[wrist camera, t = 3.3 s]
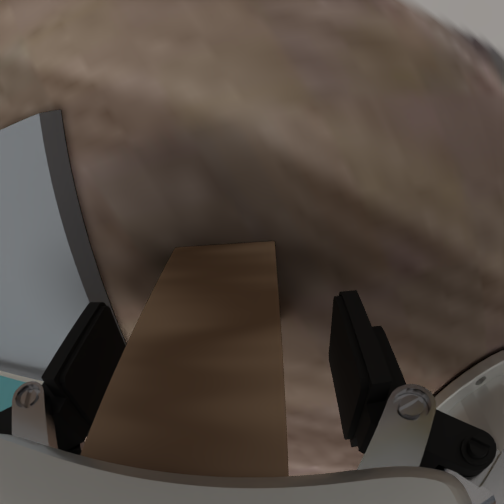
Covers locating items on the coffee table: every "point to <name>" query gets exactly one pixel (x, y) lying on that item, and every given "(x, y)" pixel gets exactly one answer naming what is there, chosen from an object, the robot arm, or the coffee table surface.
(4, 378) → the tile
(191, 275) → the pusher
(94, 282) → the board
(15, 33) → the coffee table surface
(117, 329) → the robot arm
